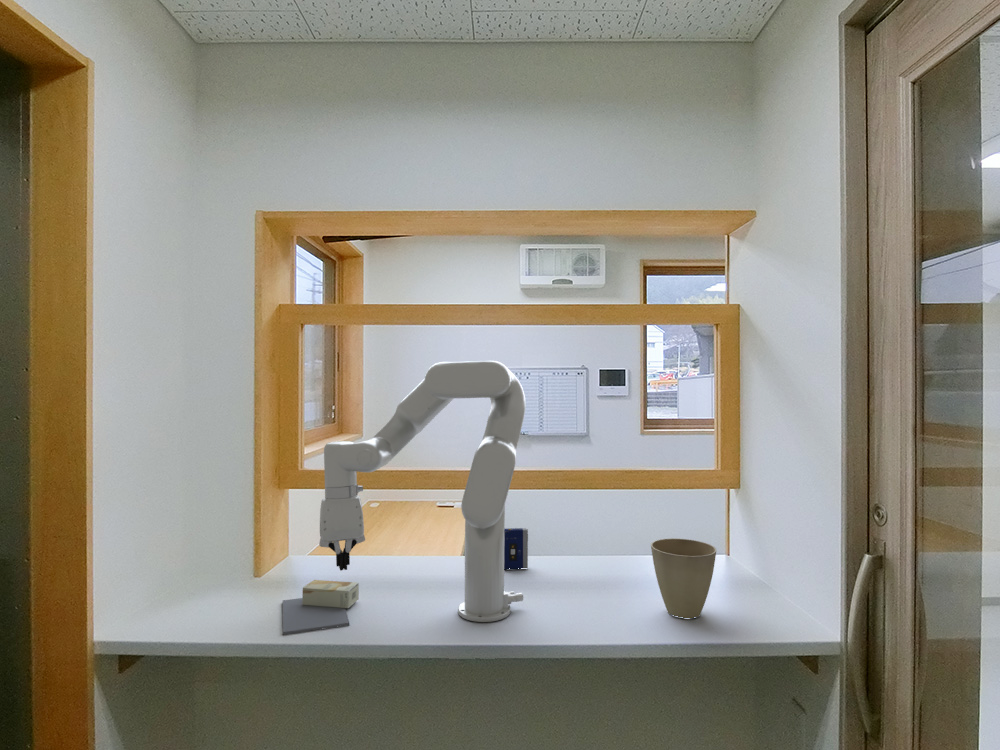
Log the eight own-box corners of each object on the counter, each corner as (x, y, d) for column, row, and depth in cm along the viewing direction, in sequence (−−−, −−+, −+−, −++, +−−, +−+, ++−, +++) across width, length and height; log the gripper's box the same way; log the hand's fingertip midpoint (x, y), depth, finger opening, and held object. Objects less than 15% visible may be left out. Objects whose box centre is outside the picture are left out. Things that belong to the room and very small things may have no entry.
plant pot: (638, 606, 139) (638, 541, 140) (688, 599, 144) (687, 536, 145) (678, 630, 125) (677, 558, 126) (731, 621, 130) (730, 551, 131)
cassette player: (503, 570, 167) (503, 529, 168) (502, 567, 170) (502, 527, 170) (528, 569, 168) (528, 529, 168) (527, 567, 170) (527, 527, 171)
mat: (340, 595, 146) (340, 593, 147) (349, 625, 128) (349, 622, 128) (282, 602, 141) (282, 600, 141) (283, 635, 123) (283, 632, 123)
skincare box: (348, 590, 136) (301, 587, 138) (348, 609, 136) (301, 605, 138) (359, 581, 142) (314, 578, 144) (359, 599, 142) (313, 596, 144)
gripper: (369, 487, 144) (371, 560, 143) (307, 493, 138) (309, 568, 138) (374, 491, 137) (376, 568, 136) (309, 498, 131) (311, 577, 131)
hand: (343, 568), depth 137 cm, fingers closed
